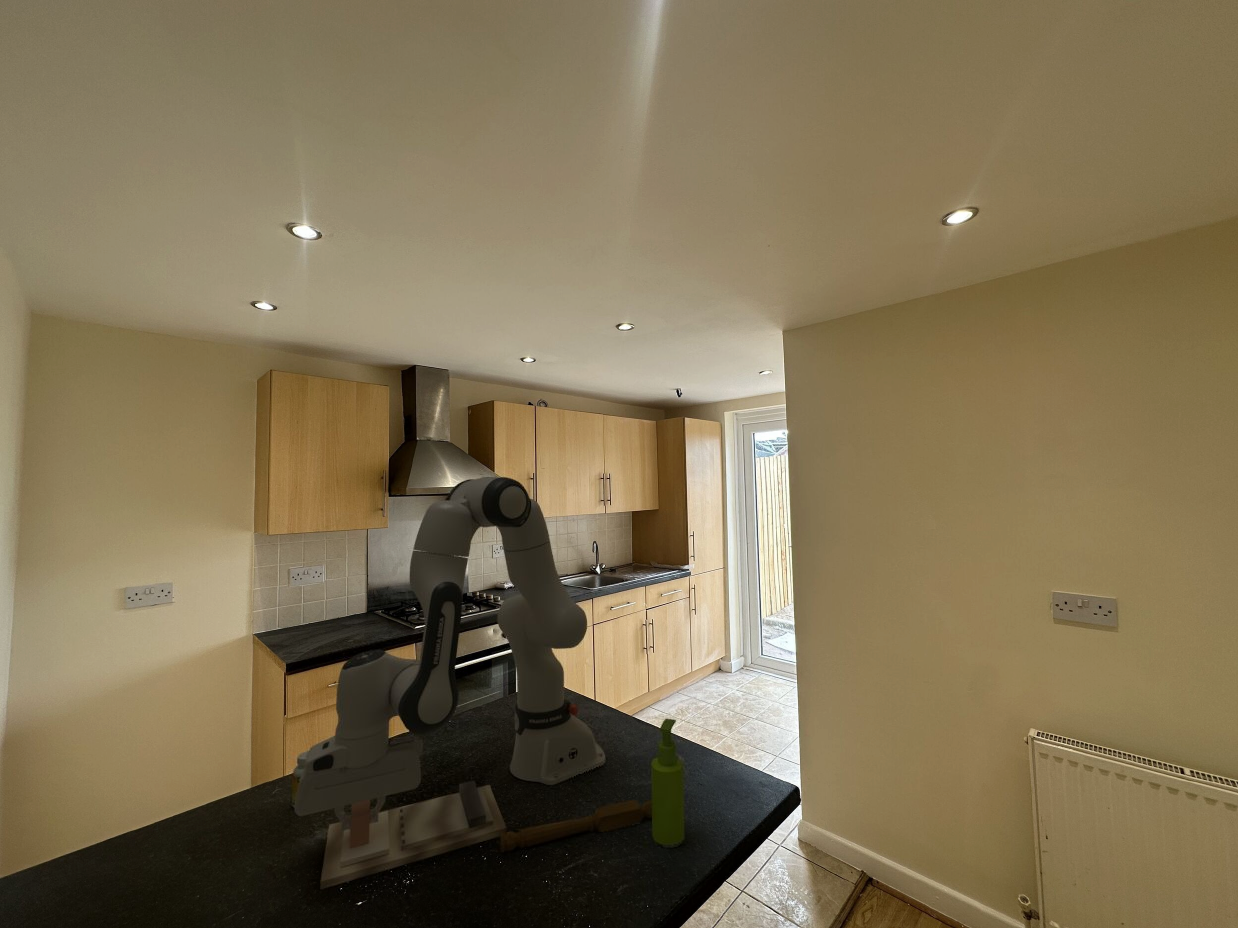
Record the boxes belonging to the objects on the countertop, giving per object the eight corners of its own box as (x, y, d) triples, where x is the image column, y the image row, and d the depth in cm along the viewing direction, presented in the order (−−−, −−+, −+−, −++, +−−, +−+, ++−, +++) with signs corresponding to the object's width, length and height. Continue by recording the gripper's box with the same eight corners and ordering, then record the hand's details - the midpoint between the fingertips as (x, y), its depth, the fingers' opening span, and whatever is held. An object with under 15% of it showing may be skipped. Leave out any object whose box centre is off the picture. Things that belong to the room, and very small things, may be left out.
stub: (387, 814, 97) (388, 783, 97) (389, 853, 86) (390, 817, 87) (344, 825, 94) (345, 793, 94) (340, 866, 83) (341, 830, 84)
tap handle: (499, 828, 90) (652, 795, 100) (499, 846, 90) (652, 811, 100) (501, 839, 88) (658, 804, 97) (501, 857, 87) (658, 820, 97)
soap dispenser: (688, 827, 94) (686, 718, 96) (680, 851, 88) (678, 733, 90) (658, 821, 96) (656, 714, 98) (648, 844, 90) (647, 729, 91)
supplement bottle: (321, 791, 108) (323, 745, 108) (322, 804, 103) (324, 755, 104) (291, 800, 105) (293, 752, 105) (291, 813, 100) (293, 763, 101)
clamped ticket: (489, 790, 107) (489, 772, 108) (506, 834, 93) (506, 813, 93) (329, 831, 94) (329, 811, 95) (320, 889, 80) (321, 865, 80)
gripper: (421, 726, 98) (420, 799, 97) (299, 749, 89) (296, 830, 88) (424, 739, 93) (423, 817, 91) (294, 766, 84) (291, 852, 83)
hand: (360, 824), depth 90 cm, fingers closed on stub, 3 cm apart
